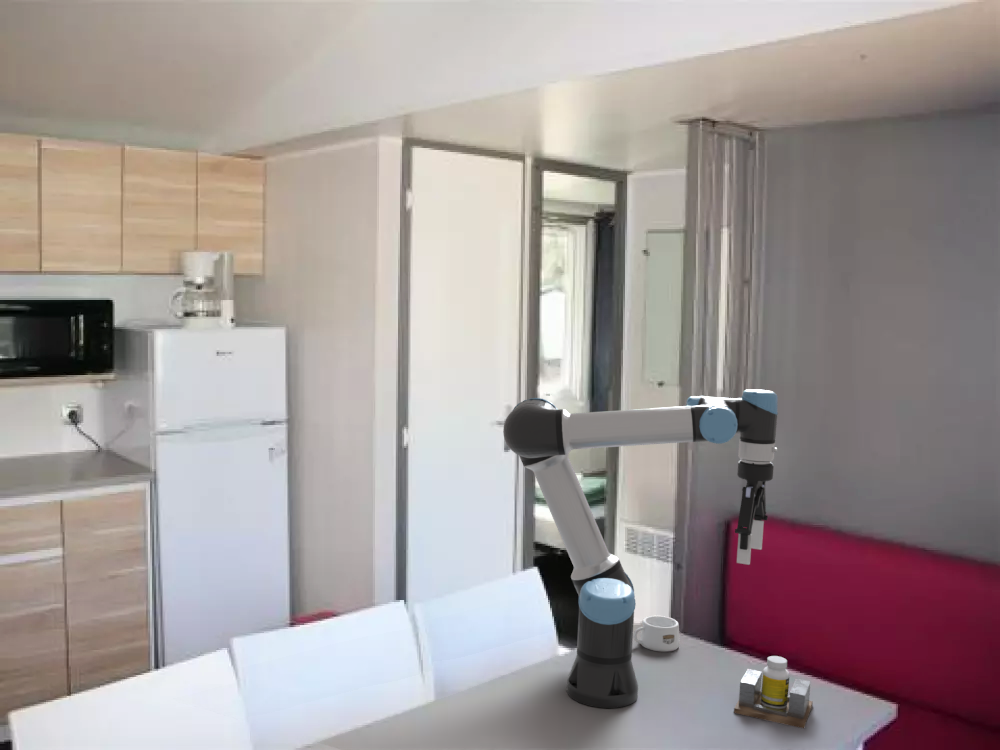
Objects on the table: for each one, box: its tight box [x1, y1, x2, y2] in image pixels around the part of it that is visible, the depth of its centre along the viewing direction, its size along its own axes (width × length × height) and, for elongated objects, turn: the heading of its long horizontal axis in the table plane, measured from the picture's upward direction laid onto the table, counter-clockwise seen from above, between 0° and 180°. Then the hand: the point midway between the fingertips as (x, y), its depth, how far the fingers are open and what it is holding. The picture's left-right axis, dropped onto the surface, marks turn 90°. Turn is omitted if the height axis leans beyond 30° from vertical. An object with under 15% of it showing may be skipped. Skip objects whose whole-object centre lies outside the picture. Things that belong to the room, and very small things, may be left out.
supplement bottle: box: [761, 655, 791, 709], centre depth 203 cm, size 5×5×10 cm
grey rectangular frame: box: [738, 668, 812, 719], centre depth 203 cm, size 13×9×5 cm
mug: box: [633, 615, 681, 653], centre depth 237 cm, size 12×10×6 cm
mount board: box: [733, 693, 813, 729], centre depth 204 cm, size 14×12×1 cm
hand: (749, 555), depth 214 cm, fingers open, 13 cm apart
